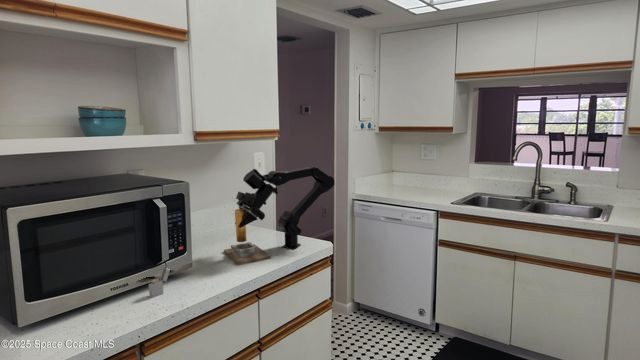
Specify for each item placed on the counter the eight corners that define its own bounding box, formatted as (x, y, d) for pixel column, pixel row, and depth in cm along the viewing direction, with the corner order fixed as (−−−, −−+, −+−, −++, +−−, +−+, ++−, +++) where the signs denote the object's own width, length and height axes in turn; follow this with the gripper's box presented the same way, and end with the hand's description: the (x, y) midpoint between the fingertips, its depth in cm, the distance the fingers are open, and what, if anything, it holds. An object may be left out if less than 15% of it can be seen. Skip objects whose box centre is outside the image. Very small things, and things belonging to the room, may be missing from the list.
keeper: (254, 246, 179) (254, 237, 178) (270, 258, 163) (270, 249, 163) (223, 252, 172) (223, 243, 171) (237, 265, 156) (237, 255, 156)
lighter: (152, 298, 129) (150, 274, 128) (149, 296, 130) (147, 273, 129) (171, 290, 135) (170, 267, 133) (168, 289, 136) (166, 266, 134)
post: (240, 238, 168) (238, 208, 166) (248, 239, 167) (246, 209, 165) (234, 241, 165) (232, 210, 162) (243, 242, 163) (241, 211, 161)
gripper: (239, 181, 172) (216, 209, 168) (255, 187, 156) (230, 219, 152) (258, 196, 177) (235, 225, 173) (275, 204, 161) (251, 235, 157)
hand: (237, 225), depth 164 cm, fingers closed on post, 4 cm apart
